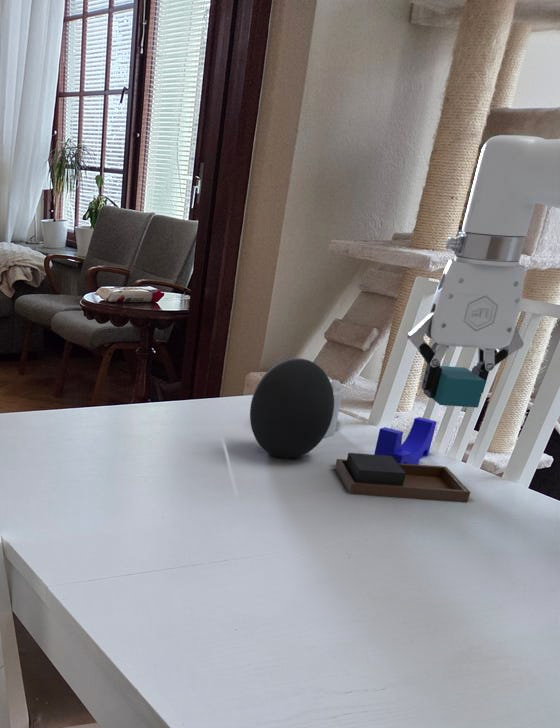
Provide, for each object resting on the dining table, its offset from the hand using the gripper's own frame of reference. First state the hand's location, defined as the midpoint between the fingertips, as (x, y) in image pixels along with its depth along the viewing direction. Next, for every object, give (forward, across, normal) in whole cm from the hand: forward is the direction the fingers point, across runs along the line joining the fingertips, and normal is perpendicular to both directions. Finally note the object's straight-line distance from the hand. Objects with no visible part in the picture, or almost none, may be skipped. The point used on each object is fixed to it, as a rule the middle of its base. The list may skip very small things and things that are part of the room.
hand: (450, 395), depth 115 cm
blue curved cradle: (+14, 0, +13) cm, 19 cm away
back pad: (+13, -7, +1) cm, 15 cm away
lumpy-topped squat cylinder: (+14, -12, +30) cm, 36 cm away
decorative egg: (+14, -18, +12) cm, 26 cm away
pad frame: (+14, -4, +1) cm, 14 cm away
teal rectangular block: (0, 0, 0) cm, 0 cm away
